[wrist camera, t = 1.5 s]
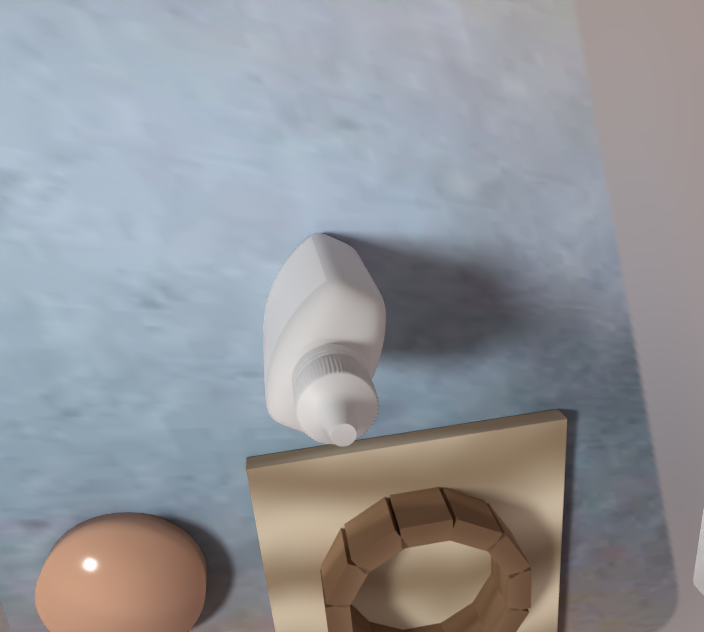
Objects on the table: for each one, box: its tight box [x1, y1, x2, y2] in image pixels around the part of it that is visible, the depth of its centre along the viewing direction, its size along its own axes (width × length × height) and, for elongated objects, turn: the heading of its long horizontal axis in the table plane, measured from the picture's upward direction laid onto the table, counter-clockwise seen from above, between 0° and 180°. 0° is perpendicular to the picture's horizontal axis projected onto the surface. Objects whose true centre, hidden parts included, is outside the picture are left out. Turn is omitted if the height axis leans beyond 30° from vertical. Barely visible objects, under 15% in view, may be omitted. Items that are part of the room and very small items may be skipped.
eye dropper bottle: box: [264, 233, 386, 447], centre depth 22 cm, size 4×6×12 cm
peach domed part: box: [35, 512, 207, 632], centre depth 31 cm, size 8×8×2 cm
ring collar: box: [246, 409, 567, 632], centre depth 32 cm, size 16×16×4 cm
